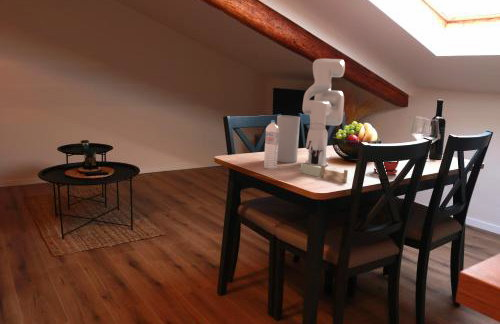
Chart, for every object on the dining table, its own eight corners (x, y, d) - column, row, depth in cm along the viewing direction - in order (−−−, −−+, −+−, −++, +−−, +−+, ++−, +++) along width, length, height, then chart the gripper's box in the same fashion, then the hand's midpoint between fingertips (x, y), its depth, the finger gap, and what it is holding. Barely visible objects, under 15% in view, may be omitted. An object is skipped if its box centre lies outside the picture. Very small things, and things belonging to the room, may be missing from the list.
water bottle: (260, 168, 216) (263, 119, 210) (270, 166, 220) (273, 119, 215) (269, 171, 211) (272, 121, 205) (279, 169, 215) (282, 120, 210)
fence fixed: (319, 177, 199) (320, 165, 198) (321, 177, 200) (323, 164, 199) (345, 183, 190) (346, 170, 188) (347, 183, 191) (348, 170, 190)
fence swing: (321, 176, 200) (321, 167, 199) (319, 177, 199) (319, 167, 198) (301, 172, 208) (302, 163, 207) (299, 172, 207) (300, 163, 206)
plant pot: (392, 170, 224) (394, 148, 222) (401, 176, 212) (404, 153, 209) (367, 169, 224) (370, 147, 222) (375, 175, 211) (378, 152, 209)
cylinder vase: (297, 163, 231) (301, 118, 226) (275, 162, 231) (277, 117, 226) (295, 159, 243) (299, 116, 238) (274, 158, 243) (277, 115, 238)
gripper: (319, 125, 212) (316, 161, 215) (302, 126, 201) (299, 164, 204) (332, 127, 207) (329, 163, 210) (315, 128, 196) (312, 166, 199)
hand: (314, 163), depth 207 cm, fingers closed
